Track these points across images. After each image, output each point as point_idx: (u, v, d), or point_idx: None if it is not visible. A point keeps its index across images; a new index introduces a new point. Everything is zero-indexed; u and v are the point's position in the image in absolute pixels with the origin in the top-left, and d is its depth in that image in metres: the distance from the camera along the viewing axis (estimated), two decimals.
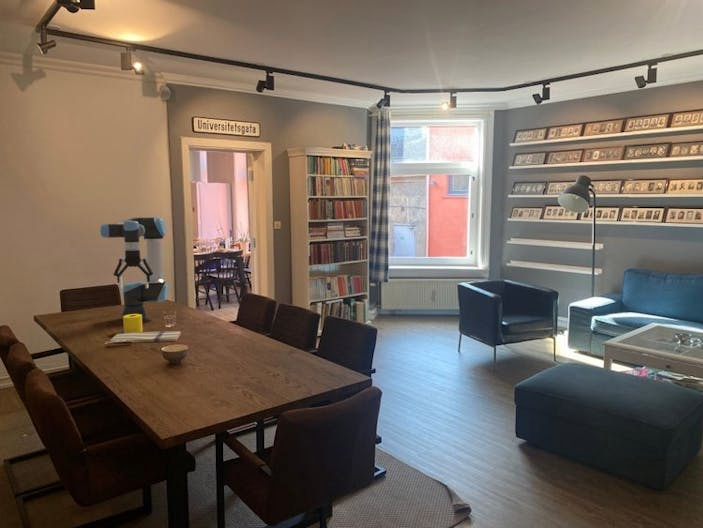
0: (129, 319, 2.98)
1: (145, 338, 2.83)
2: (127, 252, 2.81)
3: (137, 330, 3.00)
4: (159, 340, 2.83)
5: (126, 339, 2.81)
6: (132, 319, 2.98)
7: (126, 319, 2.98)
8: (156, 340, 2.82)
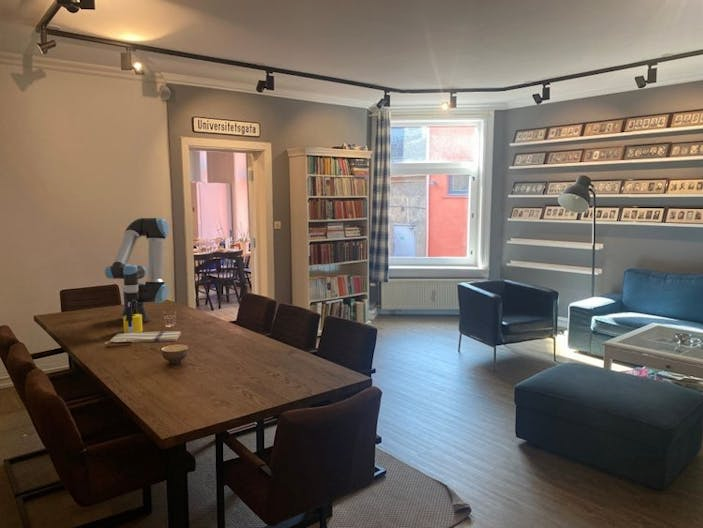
0: None
1: (145, 338, 2.83)
2: None
3: (137, 330, 3.00)
4: (159, 340, 2.83)
5: (126, 339, 2.81)
6: (132, 319, 2.98)
7: None
8: (156, 340, 2.82)
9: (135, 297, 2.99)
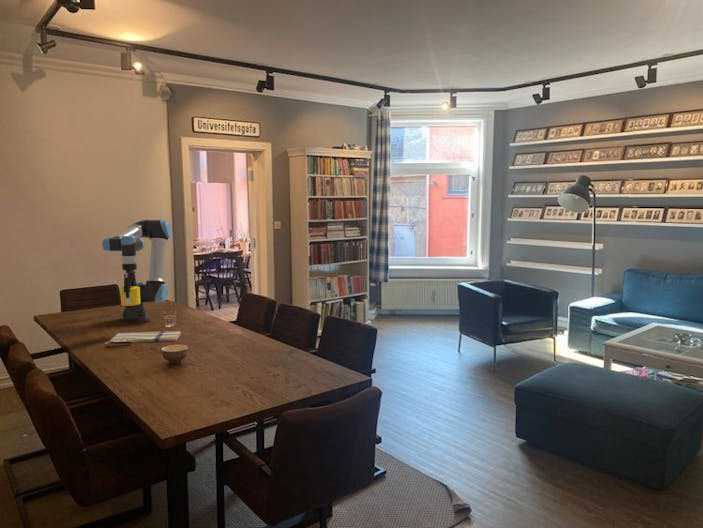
0: None
1: (145, 338, 2.83)
2: None
3: (135, 302, 2.95)
4: (159, 340, 2.83)
5: (126, 339, 2.81)
6: (130, 290, 2.93)
7: None
8: (156, 340, 2.82)
9: (133, 268, 2.94)
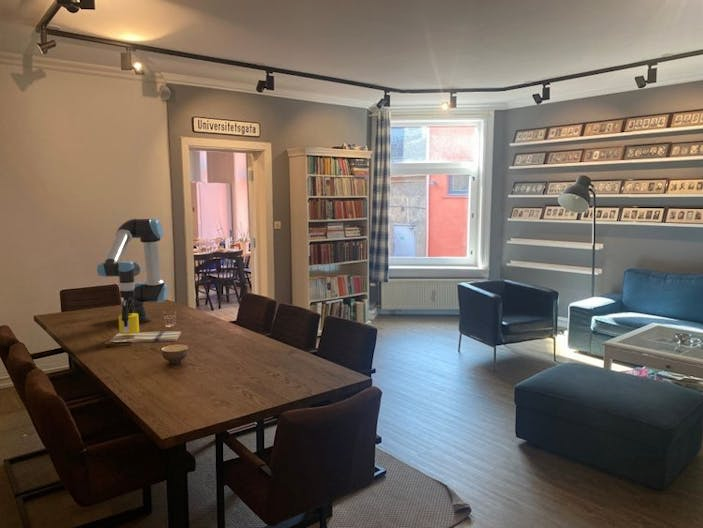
0: None
1: (145, 338, 2.83)
2: None
3: (133, 330, 2.84)
4: (159, 340, 2.83)
5: (126, 339, 2.81)
6: (128, 318, 2.82)
7: None
8: (156, 340, 2.82)
9: (131, 295, 2.83)
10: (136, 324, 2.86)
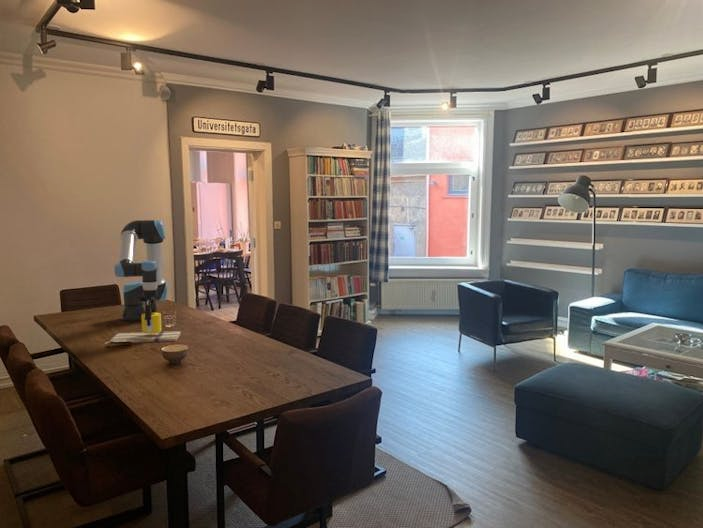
0: None
1: (145, 338, 2.83)
2: None
3: (156, 329, 2.86)
4: (159, 340, 2.83)
5: (126, 339, 2.81)
6: (151, 318, 2.84)
7: None
8: (156, 340, 2.82)
9: (154, 295, 2.85)
10: (159, 323, 2.87)
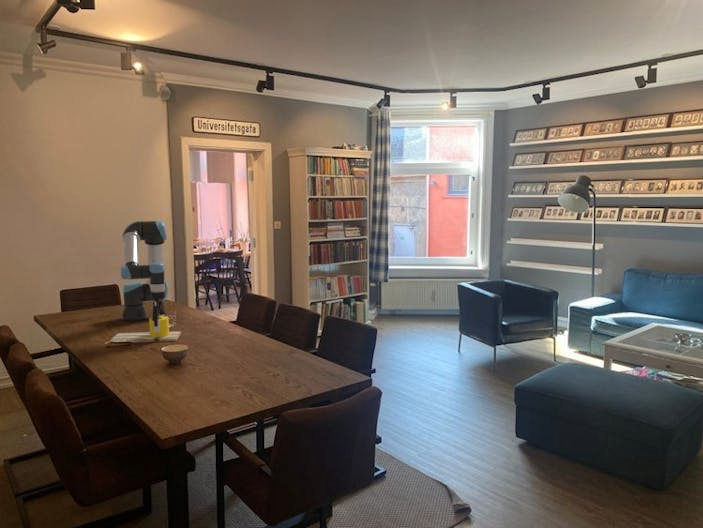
0: None
1: (145, 338, 2.83)
2: None
3: (164, 333, 2.87)
4: (159, 340, 2.83)
5: (126, 339, 2.81)
6: (159, 322, 2.85)
7: (152, 322, 2.85)
8: (156, 340, 2.82)
9: (162, 297, 2.86)
10: (166, 327, 2.88)
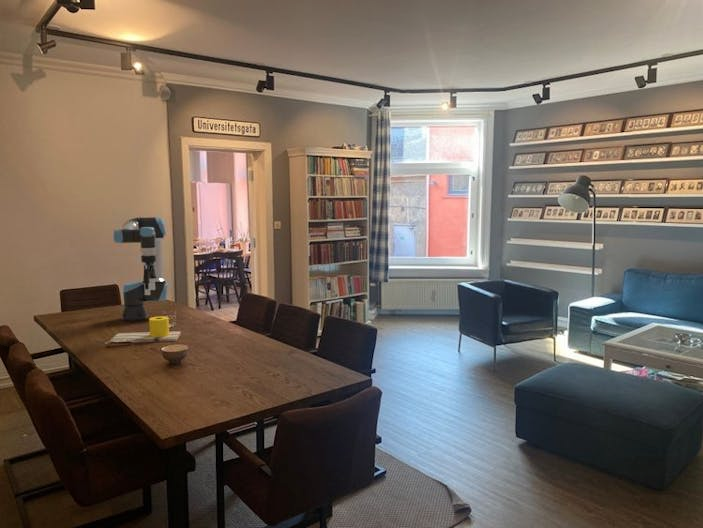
0: (156, 322, 2.84)
1: (145, 338, 2.83)
2: None
3: (164, 333, 2.87)
4: (159, 340, 2.83)
5: (126, 339, 2.81)
6: (159, 322, 2.85)
7: (153, 322, 2.85)
8: (156, 340, 2.82)
9: (152, 260, 2.90)
10: (166, 327, 2.88)
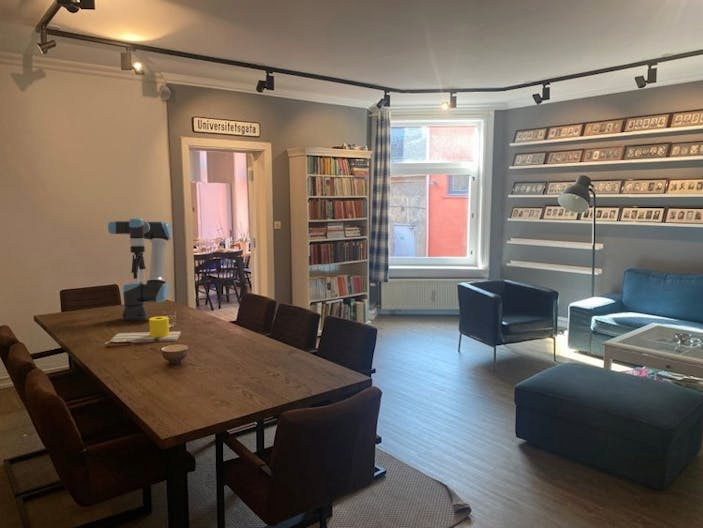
0: (156, 322, 2.84)
1: (145, 338, 2.83)
2: None
3: (164, 333, 2.87)
4: (159, 340, 2.83)
5: (126, 339, 2.81)
6: (159, 322, 2.85)
7: (153, 322, 2.85)
8: (156, 340, 2.82)
9: (141, 251, 2.98)
10: (166, 327, 2.88)
